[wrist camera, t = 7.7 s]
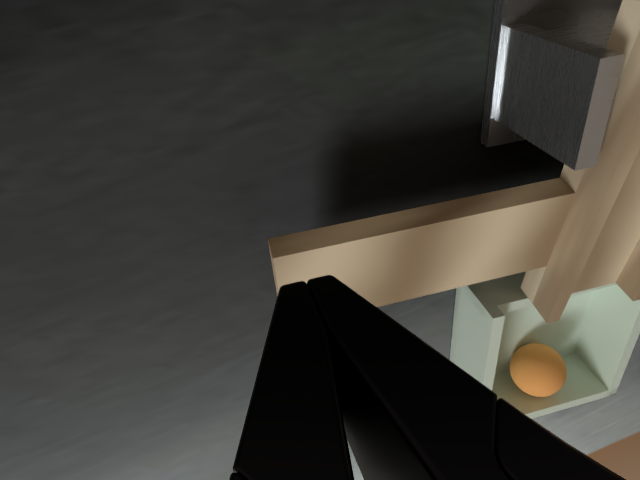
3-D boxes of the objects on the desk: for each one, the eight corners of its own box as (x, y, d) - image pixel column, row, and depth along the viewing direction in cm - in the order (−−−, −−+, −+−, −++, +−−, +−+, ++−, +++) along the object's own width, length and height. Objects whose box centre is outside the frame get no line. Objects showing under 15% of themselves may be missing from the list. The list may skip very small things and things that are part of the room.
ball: (548, 379, 30) (541, 332, 30) (582, 397, 27) (574, 345, 27) (504, 391, 30) (496, 343, 29) (533, 411, 27) (524, 358, 27)
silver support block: (683, -38, 19) (840, -23, 15) (640, 111, 23) (756, 160, 18) (496, -11, 18) (604, 14, 13) (480, 141, 21) (562, 203, 17)
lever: (883, -365, 12) (1169, -421, 8) (596, 242, 25) (662, 310, 22) (164, -343, 9) (174, -412, 6) (278, 317, 23) (300, 405, 20)
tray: (610, 237, 27) (662, 275, 24) (576, 351, 32) (615, 394, 29) (457, 273, 25) (493, 318, 23) (447, 386, 31) (475, 434, 28)
